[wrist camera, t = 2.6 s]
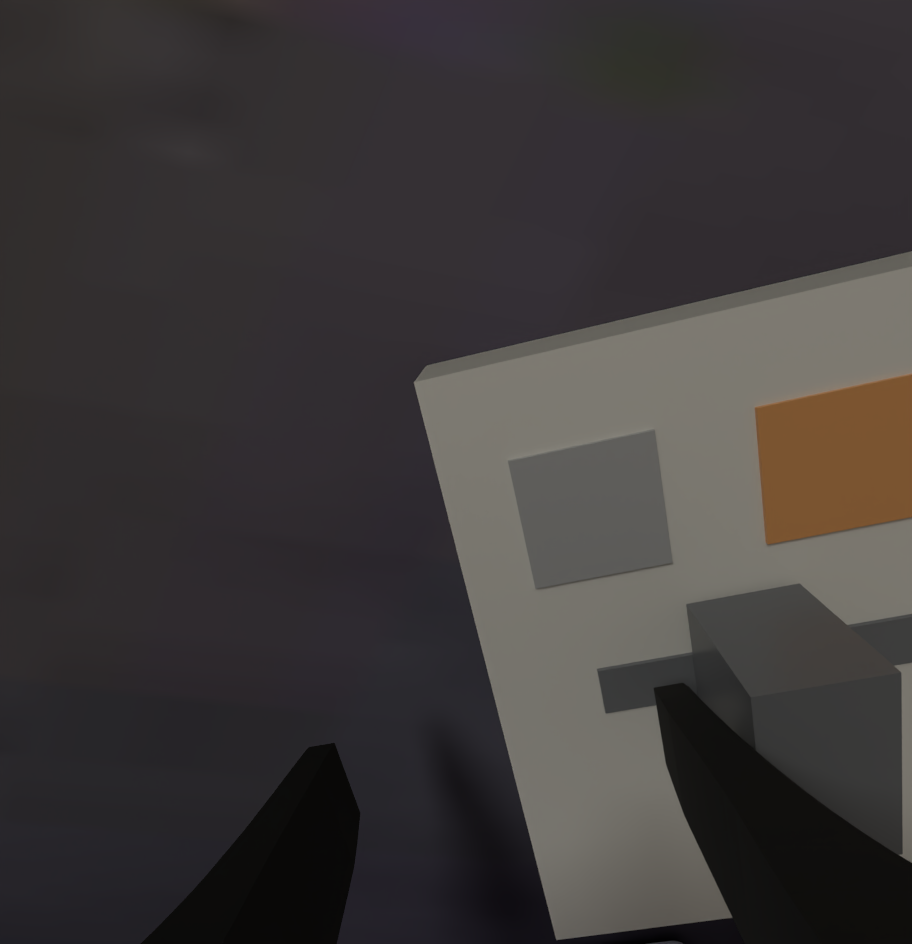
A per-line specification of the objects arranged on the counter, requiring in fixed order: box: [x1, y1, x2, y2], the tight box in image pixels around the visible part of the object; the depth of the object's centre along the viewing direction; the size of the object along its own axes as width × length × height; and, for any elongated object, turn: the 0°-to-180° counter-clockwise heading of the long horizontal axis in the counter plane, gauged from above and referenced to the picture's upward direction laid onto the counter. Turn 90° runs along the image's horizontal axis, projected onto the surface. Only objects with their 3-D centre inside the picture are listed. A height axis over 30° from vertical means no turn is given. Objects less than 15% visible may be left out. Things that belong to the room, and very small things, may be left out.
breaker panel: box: [414, 251, 912, 940], centre depth 14 cm, size 16×14×3 cm
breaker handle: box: [686, 583, 903, 855], centre depth 11 cm, size 4×2×3 cm, turn 13°
